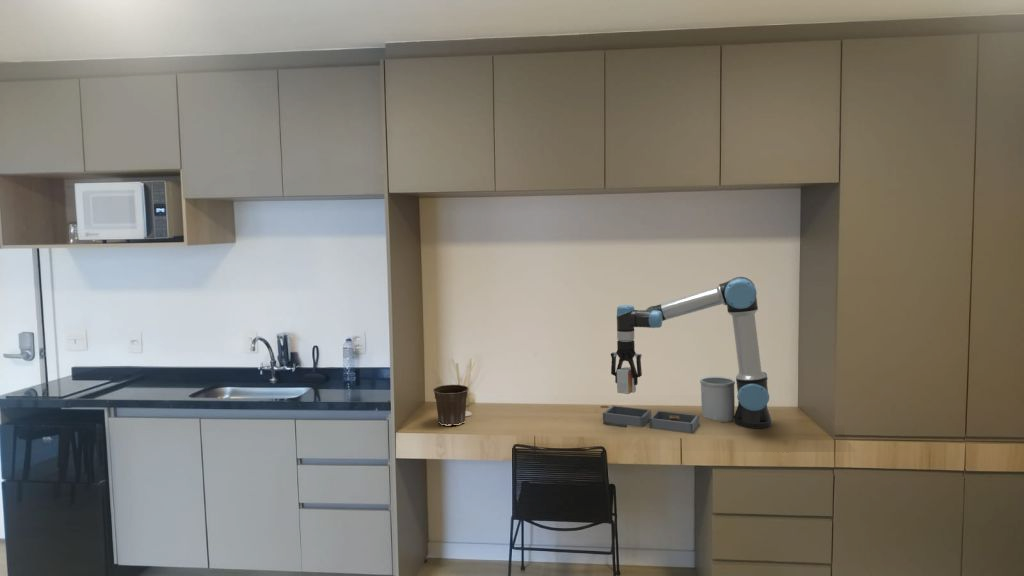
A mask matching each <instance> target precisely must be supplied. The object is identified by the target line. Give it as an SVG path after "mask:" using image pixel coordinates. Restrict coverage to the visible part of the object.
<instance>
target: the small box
mask: <svg viewBox="0 0 1024 576" xmlns="http://www.w3.org/2000/svg"><path fill="white" fill-rule="evenodd" d="M616 370H617V369H616ZM632 378H633V374H632V370H631V367H630V366H622V367H621V369H618V370H617V383H616V389H617V394H624V395H629V394H631V393H632Z"/></svg>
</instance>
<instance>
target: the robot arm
mask: <svg viewBox="0 0 1024 576" xmlns="http://www.w3.org/2000/svg"><path fill="white" fill-rule="evenodd" d="M757 294H758V293H757V289H756V286H755V284H754V282H753V281H752V280H751V279H750V278H748V277H744V276H737V277H733V278H732V279H730V280H728V281H725V282H722V283H719V284H718V285H717V286H716V287H714V288H711V289H708V290H703V291H700V292H697V293H694V294H690V295H687V296H683V297H680V298H677V299H674V300H670V301H667V302H663V303H661V304H660V303H659V304H657V305H651V306H649V307H647V308H646V309H645V310H643V309H642V310H641V309H640V310H638V309H635V306H633V305H630V304H629V305H628V304H623V305H619V306H617V308H616V339H617V341H616V343H617V346H616V347H617V350H616V352H615V351H612V352H611V353H610V357H611V367H610V369H611V371H610V374H611V375H612V376H614V378H615V381H614V383H615V384H617V370H618V369H621V368H623V363H624V362H628V365H629V367H631V370H632V374H633V378H632V393H634V394H635V393H636V391H637V385H638V380H639V379H638V378H640V377H642V376H643V375H642V374H643V372H642V361H641V359H642V354H641V353H638V352H637V353H636V351H635V349H636V348H635V345H636V344H635V328H647V329H648V328H649V329H651V328H652V329H655V328H656V329H657V328H659V329H660V328H661V327H662V325H663V321H667V320H670V319H674V318H677V317H680V316H681V317H682V316H685V315H688V314H692V313H695V312H699V311H702V310H706V309H709V308H712V307H716V306H720V305H723V306H726V307H727V308H726V309H727V314H729V315H730V316H731V318H732V325H733V333H734V341H735V351H736V356H737V357H736V358H737V365H738V373H737V374H736V376H735V380H736V381H735V383H736V389H737V402H738V403H737V404H738V405H737V406H736V407H737V408H736V411H735V412H734V420H733V422H734V424H736V425H737V426H741V427H744V428H749V429H767V428H769V427H772V417H771V414H770V411H769V409H768V403H769V401H770V393H769V390H768V379H769V378H768V374H767V372H765V371H762V365H761V364H762V363H761V357H760V356H761V355H760V349H759V348H760V347H759V341H758V340H759V339H758V331H757V323H756V316H755V314H756V312H757V311H758V309H759V306H758V299H757V298H758V297H757ZM617 356H618V358H619V359H618V364H617ZM634 357H635V359H636V366H635V362H634ZM616 364H617V365H616Z"/></svg>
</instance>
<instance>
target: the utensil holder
mask: <svg viewBox="0 0 1024 576" xmlns="http://www.w3.org/2000/svg"><path fill="white" fill-rule="evenodd" d="M699 380H700V381H699V383H700V393H701V394H700V397H701V398H700V401H701V415H702V417H703V418H706V419H708V420H713V421H720V422H721V423H728V422H731V421H734V416H735V403H736V401H735V384H736V381H735V380H736V379H733V378H731V377H727V376H721V375H720V376H719V375H718V376H712V375H711V376H704V377H701V378H700V379H699Z"/></svg>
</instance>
